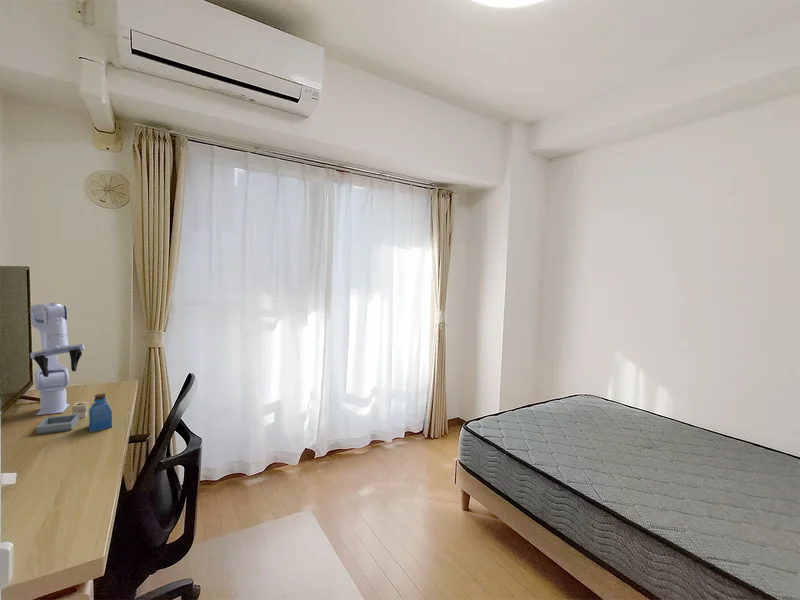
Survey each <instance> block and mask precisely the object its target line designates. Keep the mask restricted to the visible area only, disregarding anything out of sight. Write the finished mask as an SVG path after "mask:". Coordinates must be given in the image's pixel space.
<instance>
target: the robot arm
mask: <svg viewBox="0 0 800 600" xmlns="http://www.w3.org/2000/svg"><path fill="white" fill-rule="evenodd" d="M30 319H31V320H30V322H31V325H32V327H33V328H35V329H37V330H38V331H39V334H40V340H41V349H42V350H37V351H34V352H30V354H29V355H30V356H29V357H30V359H31V360H34V361H35V362H36V364H37V365H38V366H39V367H38V369H37V370H35V372H34V388H35V390H36V391H39V403H40V404H39V405H40V407H39V409H40V410H39V411H37V413H36V414H35V415H36V416H43V415H53V414H62V413H64V412H65V411H66V410H67V408H68V407H69V406H70V403H67V400H68V398H67V389H66V387H68V386H69V385H70V374H69V371H68V368H67V366H65V365H63V364H60V363H59V359H58V358H59V357H58V355H61V354H66V353H68V354H69V356H70V362H71V363H70V367H71V368H70V369H71V371H72V372H77V366H78V365H79V361H80V358H81V357H82V355H83V352H82V351H85V344H83V343H79V344H69V338H68V337H69V336H68V327H67V320H68V307H67V306H66V305H63V304H59V303H56V302H49V303H44V304H41V303H40V304H32V305H31V306H30Z"/></svg>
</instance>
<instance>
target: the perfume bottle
mask: <svg viewBox="0 0 800 600" xmlns="http://www.w3.org/2000/svg"><path fill="white" fill-rule="evenodd" d="M94 397H95V398H94V399H93V403H92V404H91V405H90V407H89V408H88V415H89V416H88V417H89V420H88V422H89V423H88V425H89V432H95V431H100V430H106V429H107V430H108V429H111V428H113V416H112V415H113V412H112V411H113V410H112V408H111V405H110V404H109V402H108V401H107V397H106V393H98V394H95V395H94Z"/></svg>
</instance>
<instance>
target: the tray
mask: <svg viewBox="0 0 800 600" xmlns="http://www.w3.org/2000/svg"><path fill="white" fill-rule="evenodd" d="M79 422H80V418H79V414H76V415H72V414H67V415H59V416H49V417H46V418H44V419H43V420H42V421H41V422H40V423H39V424H38V425H37V426H36V435H41V434H42V435H44V434H52V433H59V432H69V431H72V430H73V429H74V428H75V426H76V425H77V424H78V423H79Z"/></svg>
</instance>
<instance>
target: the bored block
mask: <svg viewBox="0 0 800 600" xmlns="http://www.w3.org/2000/svg"><path fill="white" fill-rule="evenodd" d="M71 411H72V412H71V413H72V414H71V415H76V414H79V419H84V418H86V417H88V415H89V401H82V402H75V403H74V404H73V405H71Z"/></svg>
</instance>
